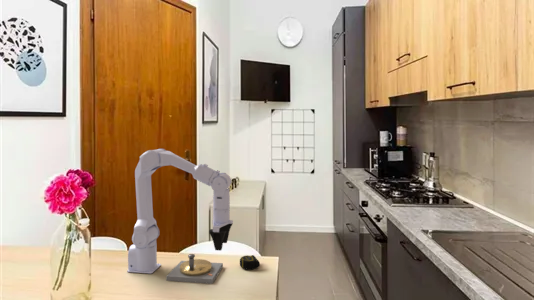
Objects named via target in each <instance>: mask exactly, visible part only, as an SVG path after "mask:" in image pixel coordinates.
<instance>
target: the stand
mask: <svg viewBox="0 0 534 300" xmlns="http://www.w3.org/2000/svg"><path fill="white" fill-rule="evenodd" d="M185 261H186V260H180V261H179V263H178V264H177V265H175V266H174V268H173V269H171V271H170V272H169V273H168V274H167V275H166V277H165V280H166V281H170V282H183V283H196V284H197V283H198V284H208V285H210V284H211V285H213V284H214V282H215V280H216V278H218V275H219V274H220V272H221V271H222V269H223V267H224V264H223V263H222V262H211V264H212V269H211V271H210V272H208V273H206V274H203V275H199V276H188V275H184V274H182V273H181V272H180V265H181V264H182V263H183V262H185Z"/></svg>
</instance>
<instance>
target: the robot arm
mask: <svg viewBox="0 0 534 300" xmlns="http://www.w3.org/2000/svg"><path fill="white" fill-rule="evenodd" d="M165 166H172V167H175V168H178V169H179V170H182V171H184V172H186V173H189V174H191V175H192V178H193V179H194V180H196V181H198V182H199V183H200V182H201V183H202V184H204V185H206V186H208V187H211V189H212V190H213V196H212V228H210V229H209V231H208V233H209V235H210V238H212V243H213V247H214V250H215V251H222V249H223V244H227V243H228V240H229V235H230V230H231V228H232V226H233V222H234V220H233V219H230V204H231V203H230V202H231V200H230V186H231V184H232V178H231V177H230V176H229V175H228V174H227V173H226V172H220V170H215V169H213V168H211V167H209V165H208V164H207V163H204V164H202V163H199V164H197V165H196V164H195V163H192V162H191V161H189V160H187V159H185V158H183V157H181V156H180V155H177V154H176V153H173V152H172V151H170V150H166V149H165V148H158V149H149V150H146V151H145V152H143V153H142V154H141V155H140V156H139V160H138V163H137V165H136V167H135V170H134V178H135V179H134V181H135V182H134V183H135V198H136V214H137V215H136V216H137V219H136V223H135V224H134V227H133V234H132V236H131V241H132V243H133V244H131V245H130V246H129V248H128V252H127V269H126V270H127V271H126V272H128V273H135V274H136V273H141V274H154V272H155V271H156V270H158V269H159V268H160V267H161V266H162V264H161V263H158V260H157V259H158V258H157V256H158V255H157V253H158V252H157V249H158V248H157V239H158V238H159V236H160V228H159V227H158V225H157V220H156V218H154V209H153V191H152V190H153V189H152V175H153V174H154V173H155V172H156V170H158V169H159V168H162V167H165Z"/></svg>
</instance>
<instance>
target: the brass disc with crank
mask: <svg viewBox="0 0 534 300" xmlns="http://www.w3.org/2000/svg"><path fill="white" fill-rule="evenodd" d="M187 258H188V260H184V261H185V262H183V263H182V264H181V265H180V272H181V273H182V274H184V275H188V276H199V275H203V274H206V273H208V272H210V271H211V269H212V264H211V263H212V261H210V260H206V259H203V258H200V259H197V258H196V256H195V253H194V254H193V253H190V254H188V255H187ZM195 258H196V259H195Z"/></svg>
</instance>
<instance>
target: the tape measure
mask: <svg viewBox="0 0 534 300" xmlns="http://www.w3.org/2000/svg"><path fill="white" fill-rule="evenodd" d="M239 266H240V268H242V269H244V270H254V269H258V268H259V267H260V266H261V264H260V261H259V260H258V258H257V257H256V256H255V255H254V254H253V255H247V254H246V255H243V256H241V257H240V259H239Z"/></svg>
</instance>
